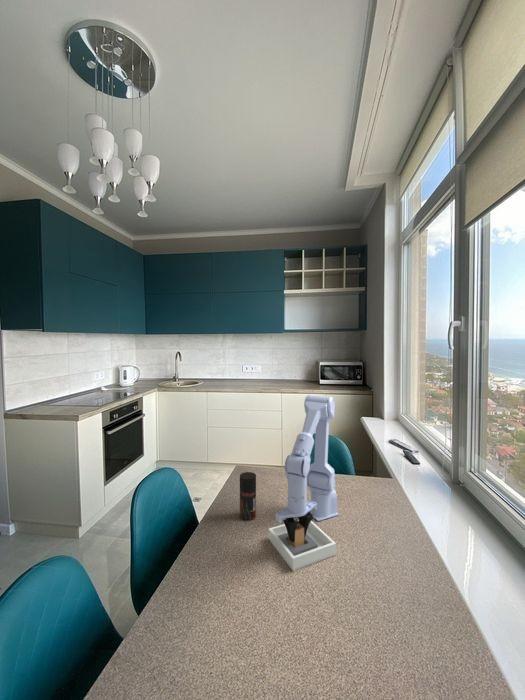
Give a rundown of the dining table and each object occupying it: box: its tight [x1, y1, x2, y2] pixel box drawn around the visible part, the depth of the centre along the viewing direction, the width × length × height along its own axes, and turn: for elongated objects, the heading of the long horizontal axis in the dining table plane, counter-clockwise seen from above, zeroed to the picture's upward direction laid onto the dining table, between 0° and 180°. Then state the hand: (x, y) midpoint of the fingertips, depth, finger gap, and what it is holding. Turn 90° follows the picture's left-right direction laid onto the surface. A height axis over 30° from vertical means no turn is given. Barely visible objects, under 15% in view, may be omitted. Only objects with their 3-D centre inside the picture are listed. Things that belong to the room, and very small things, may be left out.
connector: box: [288, 519, 304, 548], centre depth 93 cm, size 4×4×8 cm
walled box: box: [268, 519, 337, 572], centre depth 93 cm, size 15×15×4 cm
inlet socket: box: [278, 533, 318, 556], centre depth 93 cm, size 9×9×2 cm
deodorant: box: [239, 471, 257, 522], centre depth 110 cm, size 6×6×15 cm
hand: (297, 538), depth 92 cm, fingers closed on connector, 3 cm apart
